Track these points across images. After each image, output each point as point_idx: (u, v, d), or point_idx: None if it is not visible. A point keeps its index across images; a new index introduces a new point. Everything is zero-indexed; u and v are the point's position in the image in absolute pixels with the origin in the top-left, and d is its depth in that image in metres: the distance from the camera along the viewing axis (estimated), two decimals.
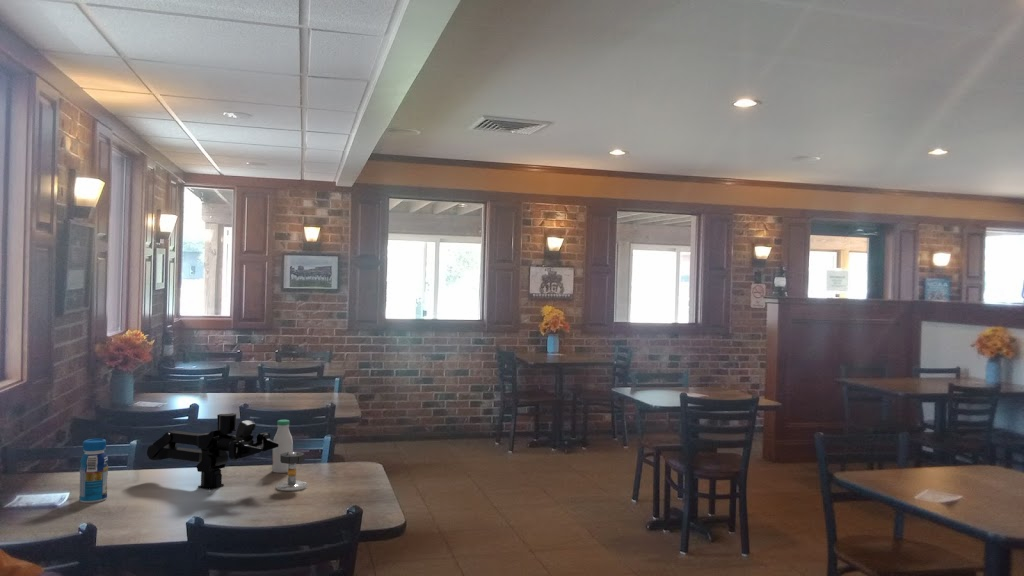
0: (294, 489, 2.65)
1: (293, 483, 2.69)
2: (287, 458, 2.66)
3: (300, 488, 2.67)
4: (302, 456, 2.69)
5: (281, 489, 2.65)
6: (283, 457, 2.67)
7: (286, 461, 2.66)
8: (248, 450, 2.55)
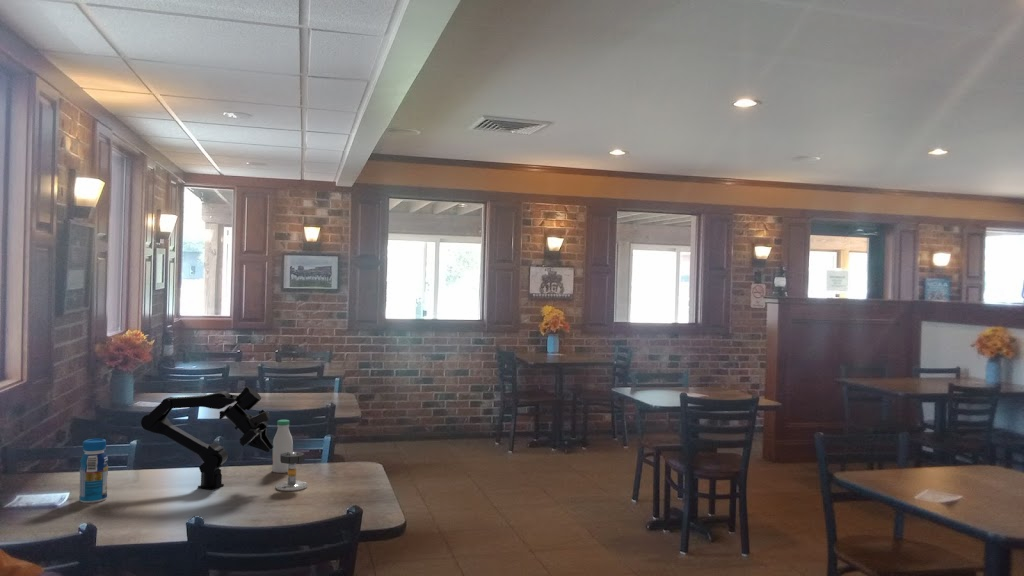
0: (294, 489, 2.65)
1: (293, 483, 2.69)
2: (287, 458, 2.66)
3: (300, 488, 2.67)
4: (302, 456, 2.69)
5: (281, 489, 2.65)
6: (283, 457, 2.67)
7: (286, 461, 2.66)
8: (259, 443, 2.66)
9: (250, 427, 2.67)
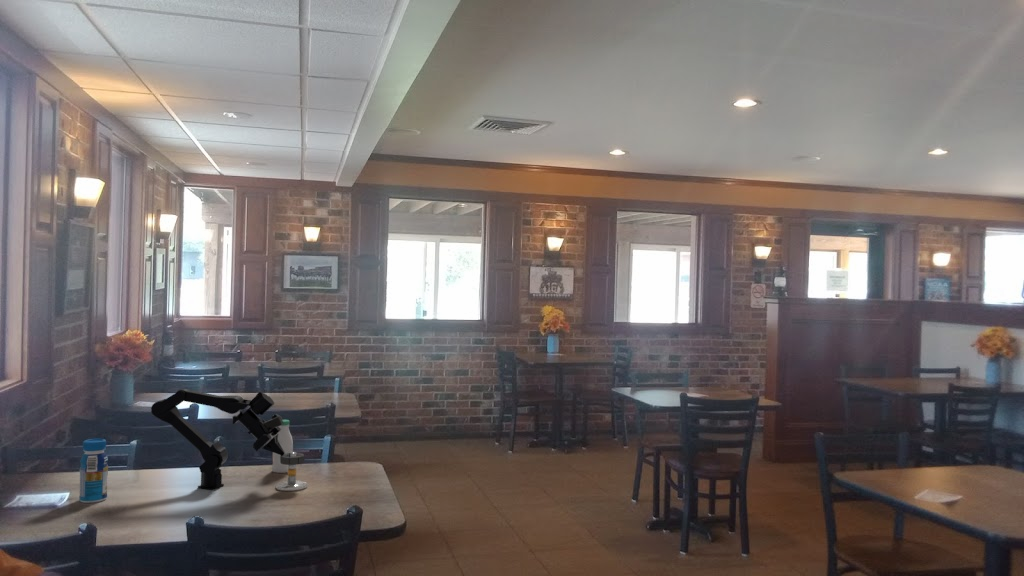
0: (294, 489, 2.65)
1: (293, 483, 2.69)
2: (287, 459, 2.66)
3: (300, 488, 2.67)
4: (302, 457, 2.69)
5: (281, 489, 2.65)
6: (283, 458, 2.67)
7: (286, 462, 2.66)
8: (274, 447, 2.68)
9: (263, 432, 2.67)
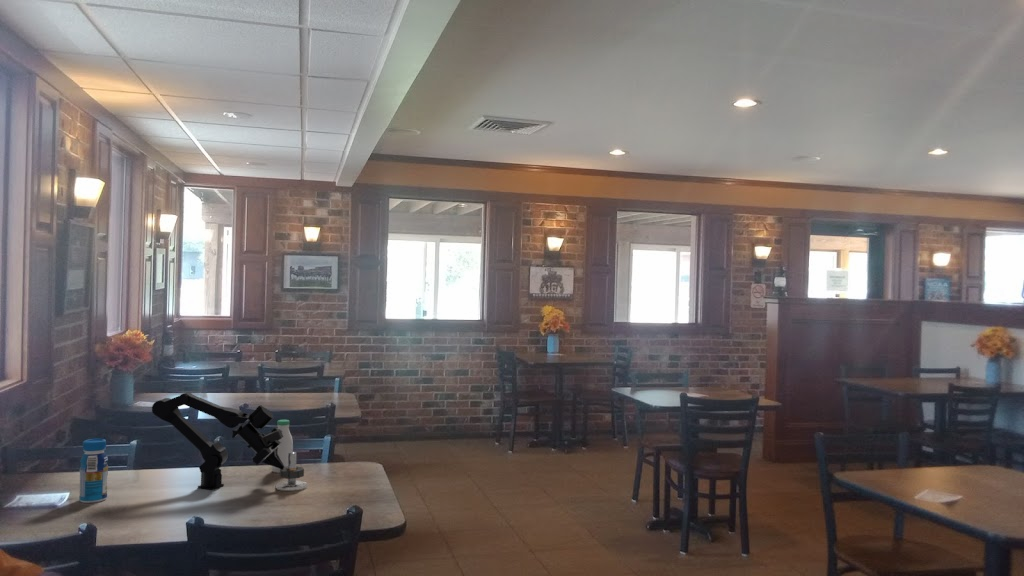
0: (294, 489, 2.65)
1: (293, 483, 2.69)
2: (287, 473, 2.66)
3: (300, 488, 2.67)
4: (302, 471, 2.69)
5: (281, 489, 2.65)
6: (283, 472, 2.67)
7: (286, 476, 2.66)
8: (273, 461, 2.68)
9: (263, 446, 2.67)
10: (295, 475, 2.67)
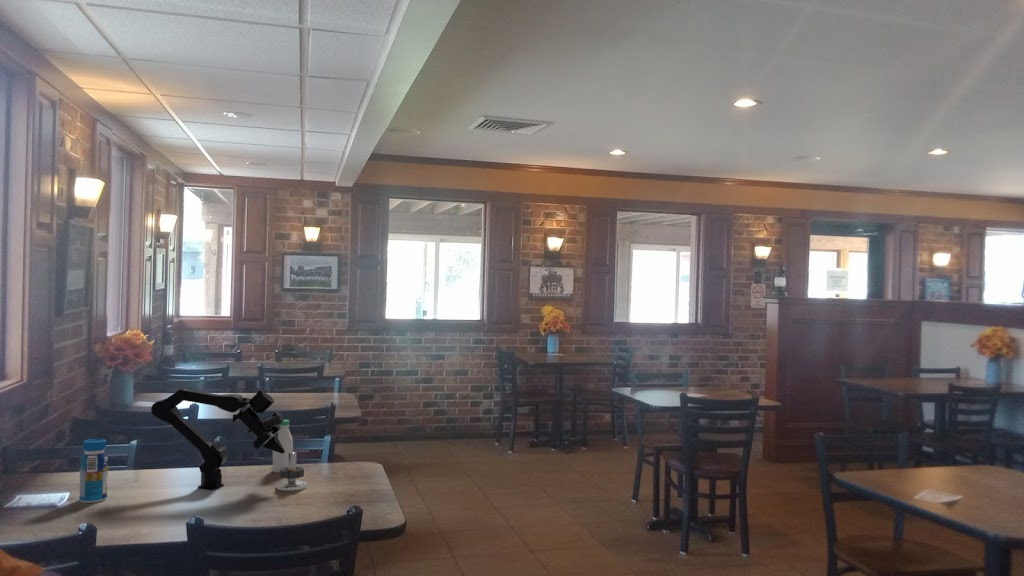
0: (294, 489, 2.65)
1: (293, 483, 2.69)
2: (287, 473, 2.66)
3: (300, 488, 2.67)
4: (302, 471, 2.69)
5: (281, 489, 2.65)
6: (283, 472, 2.67)
7: (286, 476, 2.66)
8: (274, 445, 2.68)
9: (263, 430, 2.67)
10: (295, 475, 2.67)
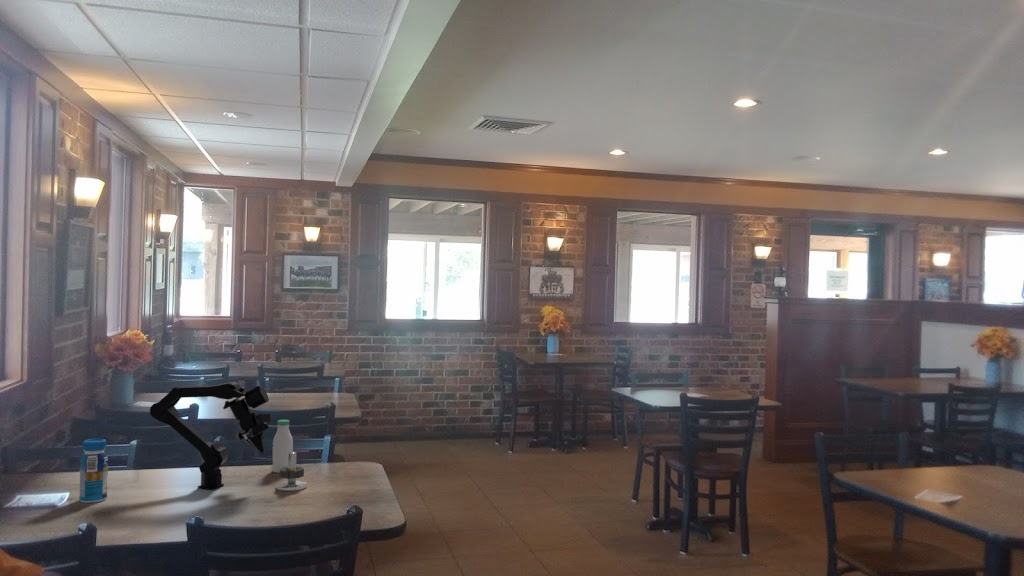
0: (294, 489, 2.65)
1: (293, 483, 2.69)
2: (287, 473, 2.66)
3: (300, 488, 2.67)
4: (302, 471, 2.69)
5: (281, 489, 2.65)
6: (283, 472, 2.67)
7: (286, 476, 2.66)
8: (257, 441, 2.68)
9: (254, 423, 2.68)
10: (295, 475, 2.67)
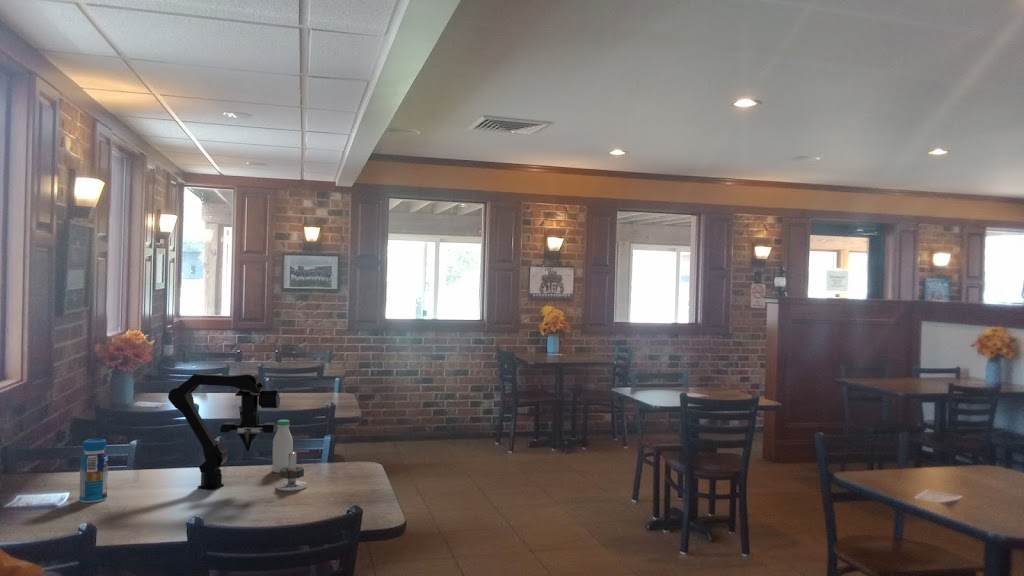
0: (294, 489, 2.65)
1: (293, 483, 2.69)
2: (287, 473, 2.66)
3: (300, 488, 2.67)
4: (302, 471, 2.69)
5: (281, 489, 2.65)
6: (283, 472, 2.67)
7: (286, 476, 2.66)
8: (252, 439, 2.69)
9: None
10: (295, 475, 2.67)
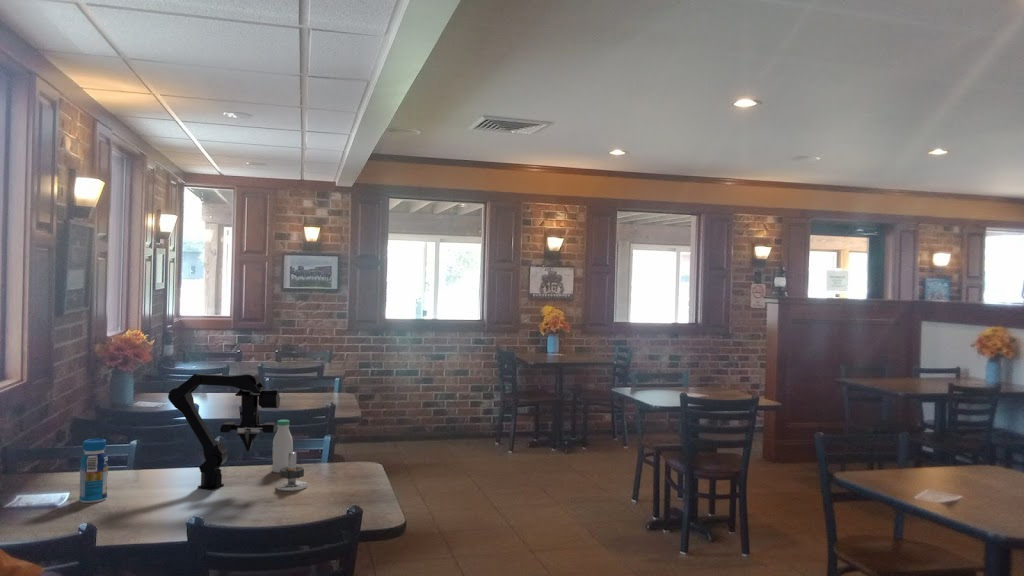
0: (294, 489, 2.65)
1: (293, 483, 2.69)
2: (287, 473, 2.66)
3: (300, 488, 2.67)
4: (302, 471, 2.69)
5: (281, 489, 2.65)
6: (283, 472, 2.67)
7: (286, 476, 2.66)
8: (252, 439, 2.69)
9: None
10: (295, 475, 2.67)
